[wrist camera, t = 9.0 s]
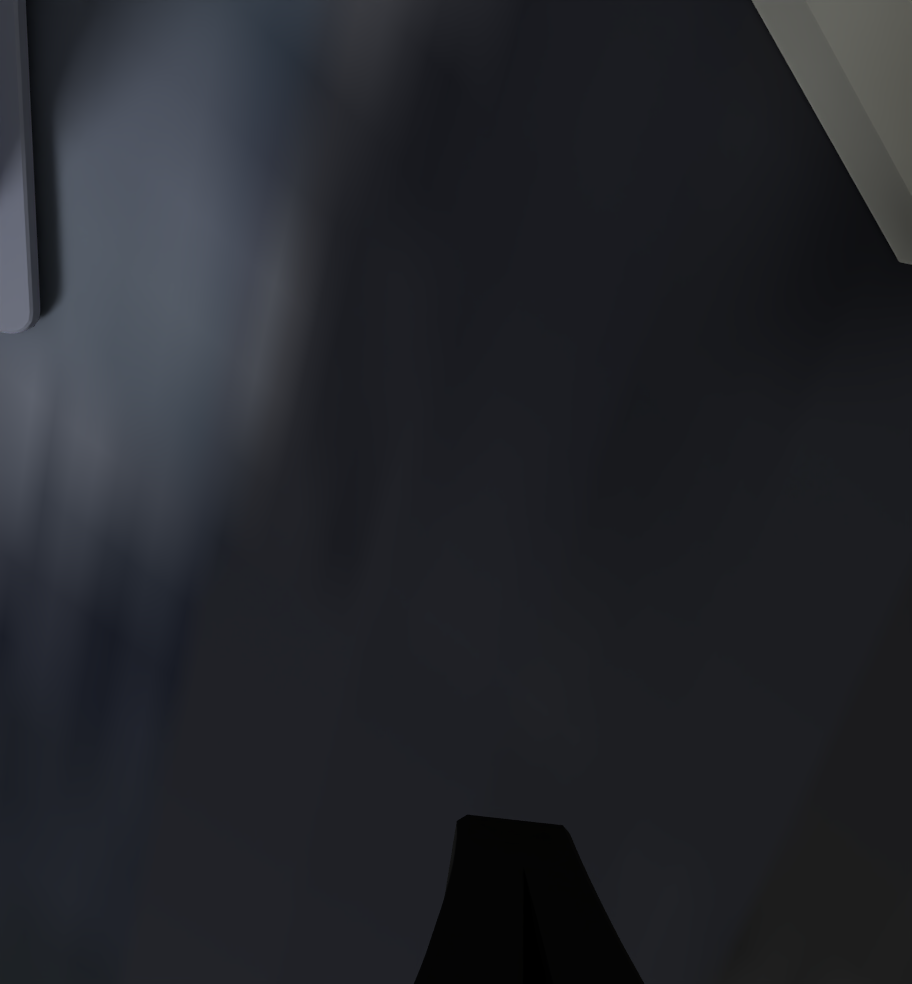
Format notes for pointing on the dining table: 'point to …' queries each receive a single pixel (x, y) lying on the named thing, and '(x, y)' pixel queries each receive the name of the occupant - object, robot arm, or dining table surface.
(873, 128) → the mount board
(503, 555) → the dining table surface
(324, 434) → the dining table surface
